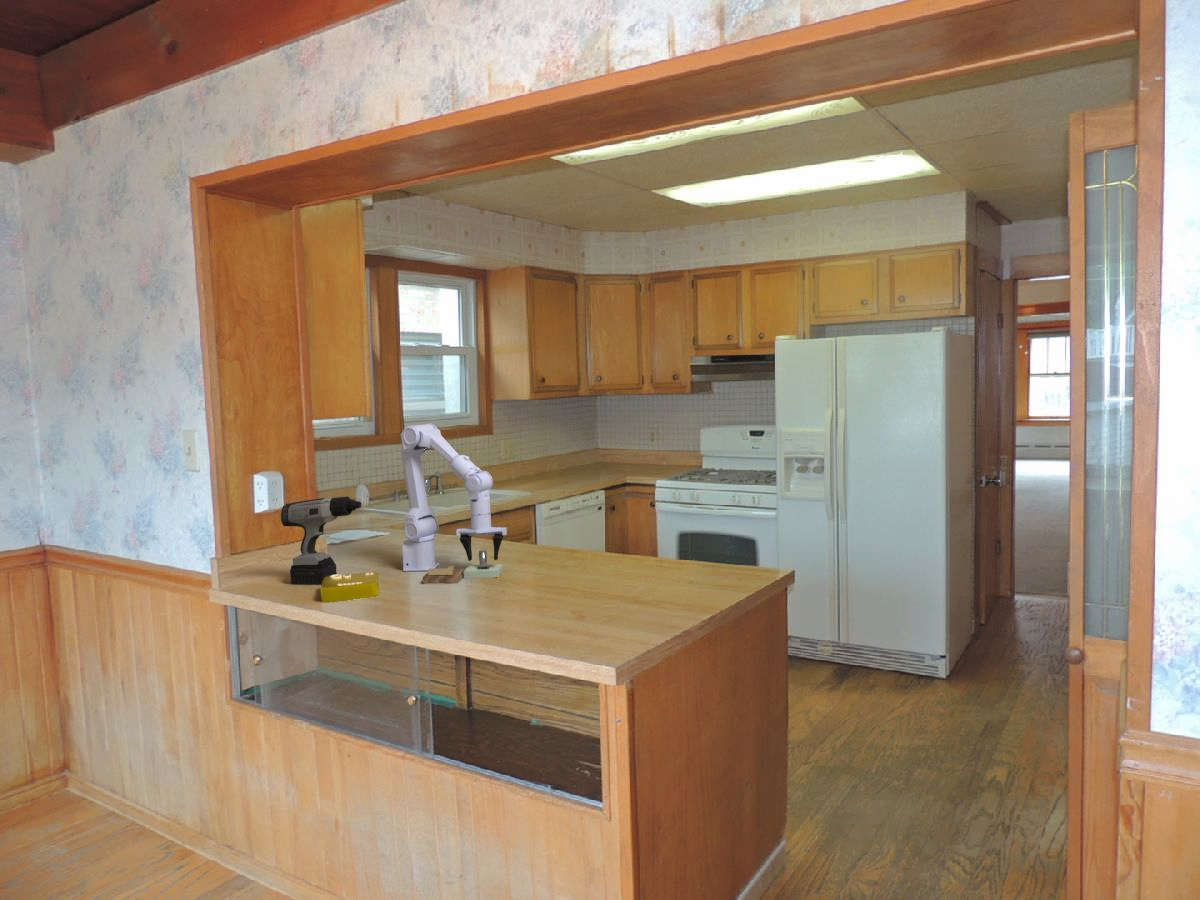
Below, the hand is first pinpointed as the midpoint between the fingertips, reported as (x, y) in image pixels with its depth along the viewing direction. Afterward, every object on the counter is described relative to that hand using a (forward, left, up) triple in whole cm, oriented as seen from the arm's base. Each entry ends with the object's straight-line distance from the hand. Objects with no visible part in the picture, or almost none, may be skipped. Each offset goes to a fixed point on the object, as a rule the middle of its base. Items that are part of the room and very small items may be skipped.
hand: (483, 559), depth 251 cm
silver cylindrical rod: (0, 0, -4) cm, 4 cm away
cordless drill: (-45, -4, -5) cm, 46 cm away
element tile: (-33, -18, -5) cm, 38 cm away
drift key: (-11, -8, -2) cm, 13 cm away
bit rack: (0, 0, -4) cm, 4 cm away
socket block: (-10, -5, -4) cm, 12 cm away
